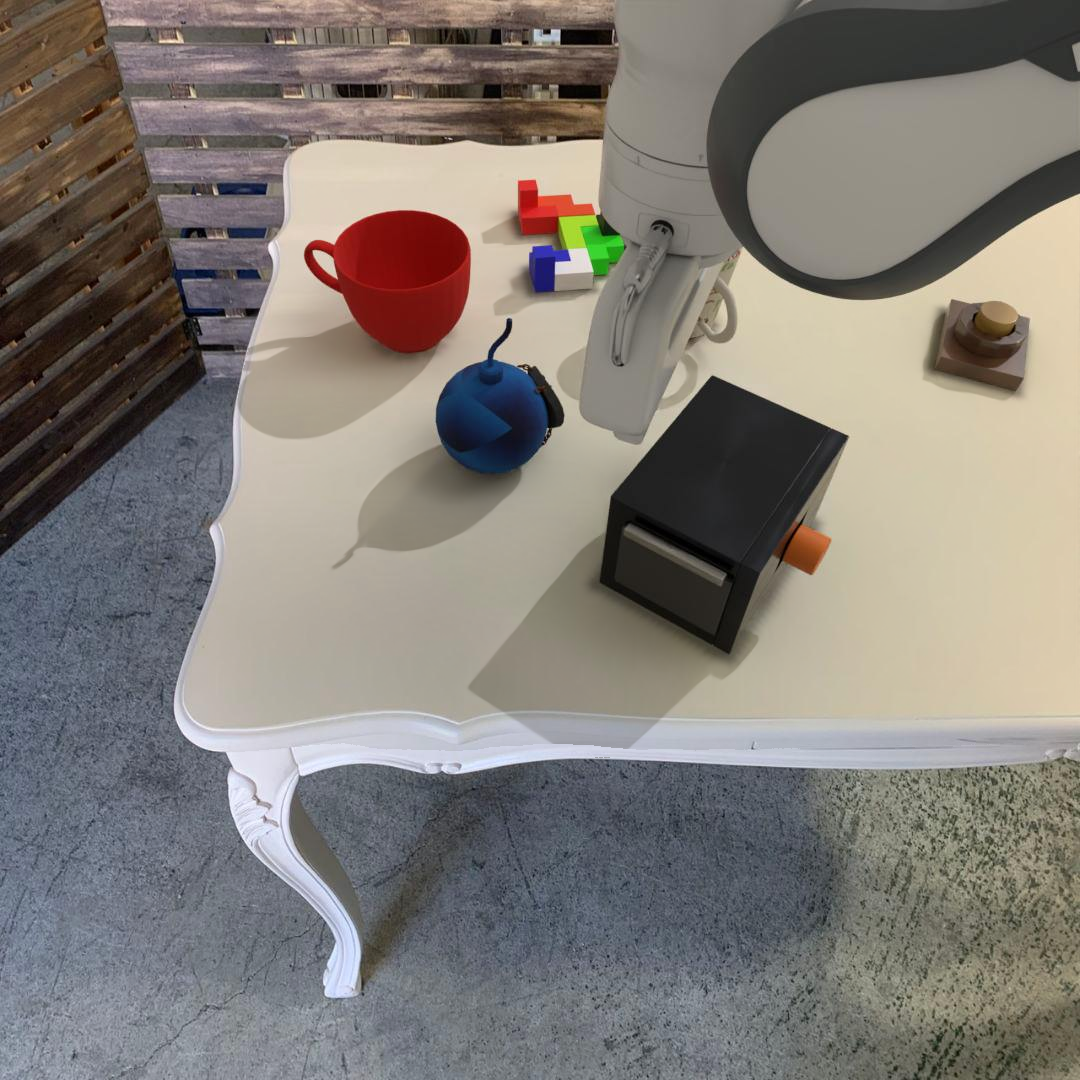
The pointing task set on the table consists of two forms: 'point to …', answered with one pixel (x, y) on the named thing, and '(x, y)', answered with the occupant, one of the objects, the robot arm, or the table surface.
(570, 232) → the building blocks
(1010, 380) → the button block
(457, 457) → the bomb
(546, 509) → the table surface
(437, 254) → the ceramic cup
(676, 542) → the oven
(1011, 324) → the button
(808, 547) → the oven button
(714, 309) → the mug
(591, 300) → the table surface
